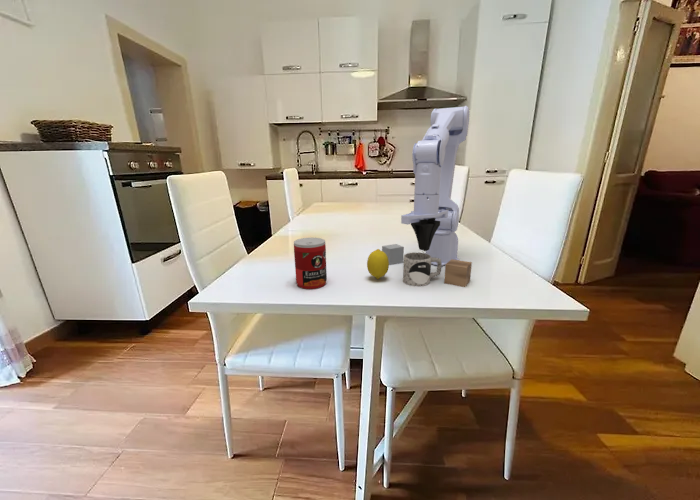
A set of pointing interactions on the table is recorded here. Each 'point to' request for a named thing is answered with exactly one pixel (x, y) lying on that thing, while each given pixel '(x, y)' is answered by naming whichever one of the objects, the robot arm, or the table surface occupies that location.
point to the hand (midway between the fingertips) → (423, 249)
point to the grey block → (394, 253)
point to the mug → (419, 269)
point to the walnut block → (457, 272)
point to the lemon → (377, 263)
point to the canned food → (310, 262)
